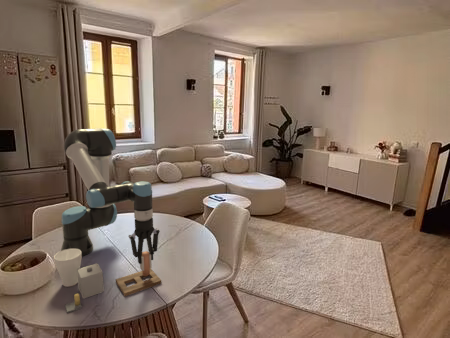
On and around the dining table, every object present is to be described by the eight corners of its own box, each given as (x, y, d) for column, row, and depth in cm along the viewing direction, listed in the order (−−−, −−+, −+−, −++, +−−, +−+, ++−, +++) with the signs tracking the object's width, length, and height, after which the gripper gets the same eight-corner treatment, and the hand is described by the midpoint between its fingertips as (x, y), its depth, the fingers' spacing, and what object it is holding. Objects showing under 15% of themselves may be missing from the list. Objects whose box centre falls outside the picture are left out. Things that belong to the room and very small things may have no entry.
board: (115, 282, 127) (115, 279, 127) (150, 270, 137) (150, 268, 136) (124, 296, 118) (124, 293, 117) (161, 283, 127) (161, 280, 127)
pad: (65, 306, 111) (63, 295, 111) (79, 301, 114) (78, 290, 113) (67, 313, 108) (66, 302, 107) (82, 308, 111) (81, 297, 110)
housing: (78, 288, 122) (76, 267, 120) (98, 282, 127) (97, 261, 125) (83, 298, 116) (80, 276, 114) (103, 291, 121) (102, 269, 119)
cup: (55, 292, 119) (52, 262, 117) (58, 278, 129) (55, 250, 126) (83, 286, 124) (81, 257, 121) (84, 273, 133) (82, 246, 130)
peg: (141, 273, 129) (140, 252, 127) (148, 271, 131) (147, 250, 129) (144, 276, 126) (143, 255, 124) (151, 274, 128) (150, 253, 126)
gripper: (128, 225, 116) (131, 278, 120) (164, 216, 125) (166, 266, 130) (122, 219, 121) (125, 270, 126) (157, 211, 131) (159, 259, 135)
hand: (145, 268), depth 128 cm, fingers closed on peg, 3 cm apart
